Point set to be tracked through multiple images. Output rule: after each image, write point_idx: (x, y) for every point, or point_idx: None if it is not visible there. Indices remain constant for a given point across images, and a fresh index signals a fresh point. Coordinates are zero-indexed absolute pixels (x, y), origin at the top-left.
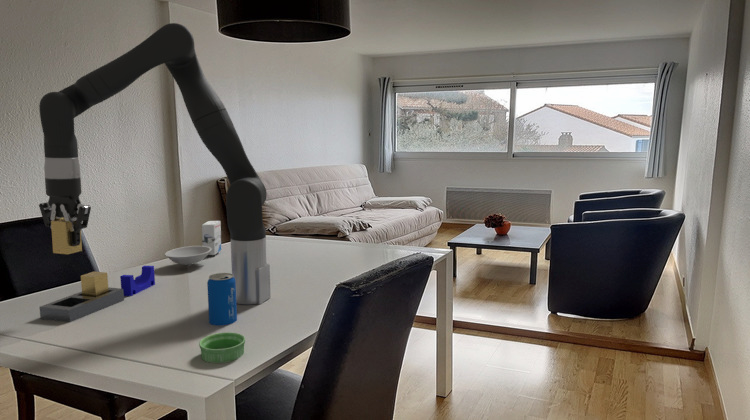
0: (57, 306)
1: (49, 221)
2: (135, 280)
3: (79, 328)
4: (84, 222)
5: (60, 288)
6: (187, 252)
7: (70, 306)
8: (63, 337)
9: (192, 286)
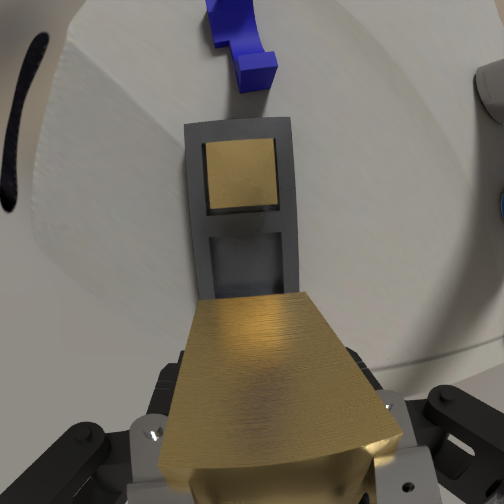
0: None
1: (103, 486)
2: (213, 20)
3: (330, 311)
4: (464, 422)
5: (47, 124)
6: None
7: (211, 238)
8: None
9: (347, 5)
